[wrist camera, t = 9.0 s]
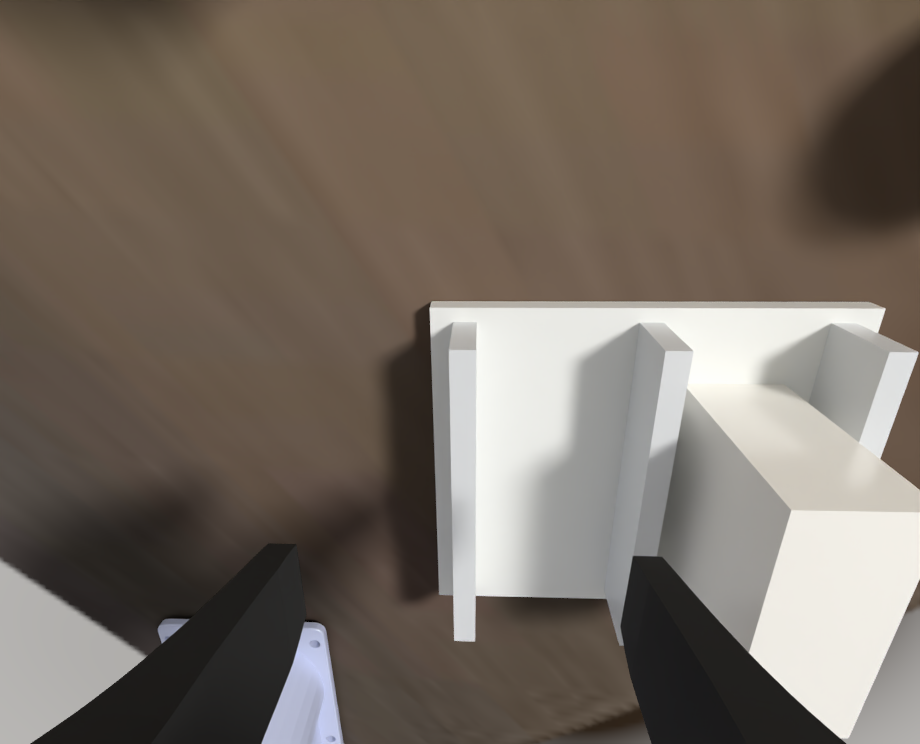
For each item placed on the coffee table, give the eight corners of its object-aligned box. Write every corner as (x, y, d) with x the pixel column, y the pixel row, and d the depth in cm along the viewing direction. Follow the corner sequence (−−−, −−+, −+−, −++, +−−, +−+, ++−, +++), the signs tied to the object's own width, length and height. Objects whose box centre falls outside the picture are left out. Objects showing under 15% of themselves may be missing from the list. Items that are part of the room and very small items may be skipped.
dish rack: (780, 588, 23) (828, 660, 20) (440, 580, 24) (433, 649, 20) (869, 301, 18) (954, 335, 15) (431, 301, 18) (421, 333, 15)
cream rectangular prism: (784, 384, 18) (948, 513, 12) (738, 561, 21) (848, 738, 15) (682, 383, 18) (791, 510, 12) (652, 559, 22) (724, 734, 15)
